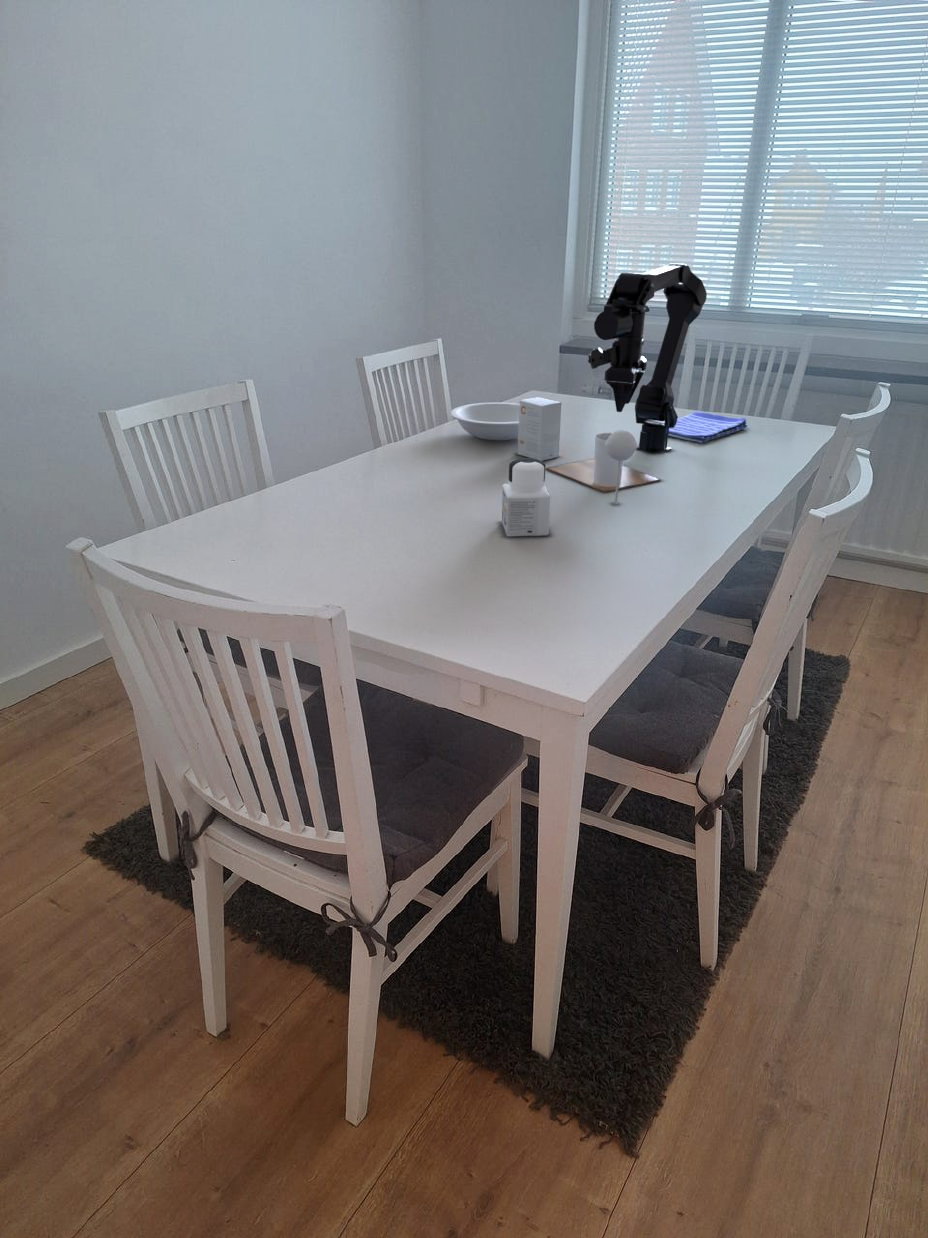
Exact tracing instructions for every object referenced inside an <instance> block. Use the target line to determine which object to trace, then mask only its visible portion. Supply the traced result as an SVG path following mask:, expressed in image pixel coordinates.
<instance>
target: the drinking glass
mask: <svg viewBox="0 0 928 1238" xmlns="http://www.w3.org/2000/svg"><path fill="white" fill-rule="evenodd" d="M612 433H613V432H601V433H597V434H595V435H594V455H593V456H594V457H593V459H594V484H596V485H599V486H604V487H614V486H616V483H617V472H618V462H619V461H618V460H615V459H613V458H611V457H610V456H609V454H608V452H607V450H606V446H605V443H606V440H607V439H608V437H609V436H610V435H611V434H612ZM624 461H625V460H624ZM624 461H621V466H620V476H619V485H620V483H621V476H622V469H623V466H624Z"/></svg>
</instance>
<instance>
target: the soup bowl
mask: <svg viewBox="0 0 928 1238" xmlns="http://www.w3.org/2000/svg"><path fill="white" fill-rule="evenodd" d="M519 405H520V403H516V402H515V403H514V402H478V403H469V404H464V405H461V406H458V407H455V408H453V409H452V410H451V411H450V415H451V417H452V418H453V419H456V420H457V422H458V424H459V425H460V427H461V428H462V429H463V430H464V432H467V434H469V435H470V436H473V437H474V438H478V439H481V440H487V441H509V440H510V441H511V440H515V439H518V431H519Z"/></svg>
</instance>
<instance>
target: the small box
mask: <svg viewBox="0 0 928 1238" xmlns="http://www.w3.org/2000/svg"><path fill="white" fill-rule="evenodd" d="M519 404H520V405H519V431H518V438H517V455H520V456H523V457H525V458H534V459H538V460H540V461H542V462H544V461H546V460H552V459H555V458H558V457H560V440H561V439H560V438H561V421H562V420H561V418H562V401H556V400H552V399H547V398H543V397H539V396H536V397H532V398H525V399H519Z"/></svg>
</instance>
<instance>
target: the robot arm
mask: <svg viewBox="0 0 928 1238" xmlns="http://www.w3.org/2000/svg"><path fill="white" fill-rule="evenodd" d="M661 290H663V292H662V293H663V295H664V296H665V299H666V305H665V309H666V312H667V316H668V322H667V325H666V328H665V332H664V336H663V339H662V343H661V346H660V349H659V353H658V357H657V359H656V363H655V365H654V369H653V373H652V376H651V379H650V381H648V383H647V384H642V385H641V386H640V387H639V392H638V395H637V398H636V400H635V405H634V413H635V415H634V416H635V423H636V424H641V430H640V431H639V432H640V433H639V440H638V441H639V442H638V444H637V448H636V450H640V451H643V452H647V453H650V454H657V453H662V452H663V453H664V452H669V451H672V447H669V446H668V442H669V436H668V434H669V428H674V427H675V425H676V423H677V419H678V418H679V416H678V414H677V412H676V409H675V407H674V402H675V396H674V392H673V387H672V384H673V381H674V378H675V374H676V371H677V367H678V363H679V361H680V357H681V354H682V352H683V351H682V350H683V348H684V343H685V341H686V338H687V334H688V330H689V328H690V325H691V324H692V323H693V322H694V321H695V320H696V319H697V318H698V317H699V316H700V314H701V312H702V309H703V307H704V305H705V304H706V301H707V295H708V293H707V290H706V287H705V285H704V282H703V281H702V279H700V278H699V277H698V276H697V275H696V274H694V273H693V272H692V270H691V268H690V266H689V265H687V264H686V263H672V262H671V263H667V264H665V265H664V266H660V267H658V268H655V269H652V270H649V271H645V272H626V271H625V272H624V271H623V272H621V273H620V274H619V275H618V278H617V279H616V280H615V282H614V285H613V287H612V289H611V291H610V294H609V296H608V298H607V300H606V303H605V304H604V306H603V311H601V312H600V313H599V314H598V315H597V316H596V318H595V320H594V322H593V323H594V324H593V329H594V332H595V335H596V336H597V337H598V338H599V339H600V340H603V341H610V340H614V339H615V340H614V341H612V344H611V346H608V347H605V348H601V347H596V348H593V349H591V352H590V353H589V354H588V355H587V357H588V360H587V362H588V364H590V368H591V370H594V369H598V367H601V366H604V365H608V364H609V365H610V367H608V368H607V369H606V370H605V371H604V381H605V383H606V384H608V385H609V387H611V388H612V393H613V398H614V404H615V410H616V412H617V413H622V412H623V410H624V408H625V406H626V405H628V404H630V402H631V400H632V398H633V396H634V394H635V392H636V389H638V386H639V384H640V382H641V379H642V377H643V376H644V374H645V371H646V370H647V362H648V360H647V358H645V356H643V355H642V349H643V345H644V342H645V339H644V338H643V337H644V328H645V317H646V313H649V312H650V309H651V308H650V307H649V306H648V305H647V303H648V301H651V300H652V299H653V298H654V297H655V293H657V292H659V291H661ZM639 369H641V370H639Z"/></svg>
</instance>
